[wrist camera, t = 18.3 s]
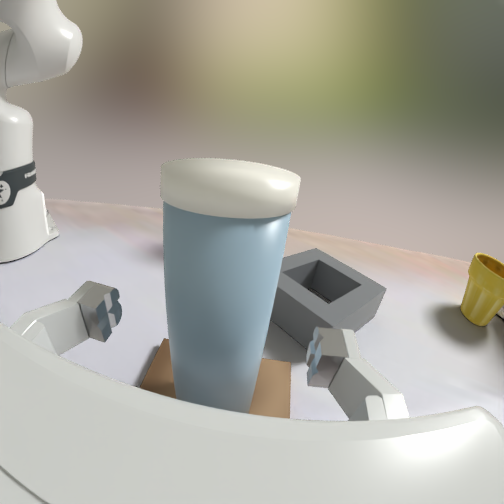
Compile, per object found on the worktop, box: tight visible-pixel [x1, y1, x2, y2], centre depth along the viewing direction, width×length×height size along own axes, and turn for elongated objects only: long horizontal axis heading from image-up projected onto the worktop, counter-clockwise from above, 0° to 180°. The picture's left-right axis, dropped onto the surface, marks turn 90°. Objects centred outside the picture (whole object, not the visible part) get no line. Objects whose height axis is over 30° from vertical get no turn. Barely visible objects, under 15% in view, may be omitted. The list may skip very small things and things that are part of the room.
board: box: [140, 338, 291, 419], centre depth 19 cm, size 12×12×1 cm
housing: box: [270, 248, 387, 350], centre depth 32 cm, size 12×12×4 cm
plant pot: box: [461, 253, 504, 326], centre depth 32 cm, size 10×10×10 cm
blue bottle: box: [160, 158, 301, 414], centre depth 15 cm, size 6×6×17 cm
